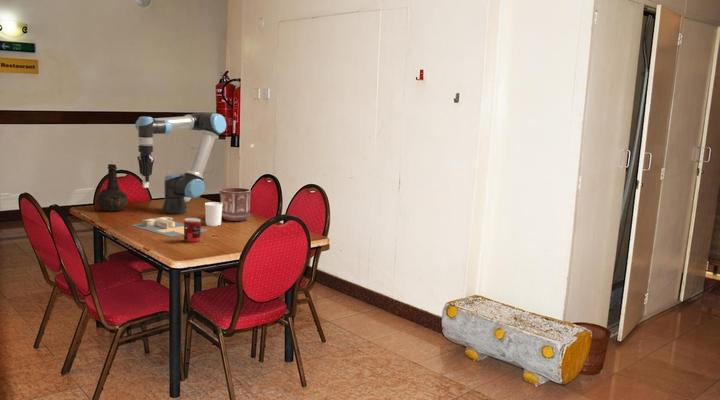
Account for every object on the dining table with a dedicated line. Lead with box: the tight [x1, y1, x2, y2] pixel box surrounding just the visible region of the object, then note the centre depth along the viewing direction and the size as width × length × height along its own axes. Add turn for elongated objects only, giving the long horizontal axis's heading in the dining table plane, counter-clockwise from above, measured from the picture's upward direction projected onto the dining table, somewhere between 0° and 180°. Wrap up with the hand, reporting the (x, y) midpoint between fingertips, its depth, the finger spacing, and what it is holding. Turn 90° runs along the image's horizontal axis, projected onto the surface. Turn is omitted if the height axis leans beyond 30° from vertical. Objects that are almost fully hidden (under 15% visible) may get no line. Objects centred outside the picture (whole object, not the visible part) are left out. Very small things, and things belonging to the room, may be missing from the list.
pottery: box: [219, 187, 252, 223], centre depth 359 cm, size 18×18×18 cm
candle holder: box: [204, 201, 223, 227], centre depth 343 cm, size 10×10×12 cm
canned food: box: [183, 217, 202, 244], centre depth 303 cm, size 8×8×11 cm
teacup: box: [184, 197, 192, 204], centre depth 410 cm, size 14×11×8 cm
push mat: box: [130, 220, 210, 238], centre depth 329 cm, size 24×36×1 cm, turn 52°
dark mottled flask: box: [96, 163, 129, 213], centre depth 367 cm, size 18×18×28 cm
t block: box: [141, 216, 176, 229], centre depth 333 cm, size 16×15×3 cm
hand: (145, 187), depth 340 cm, fingers closed
